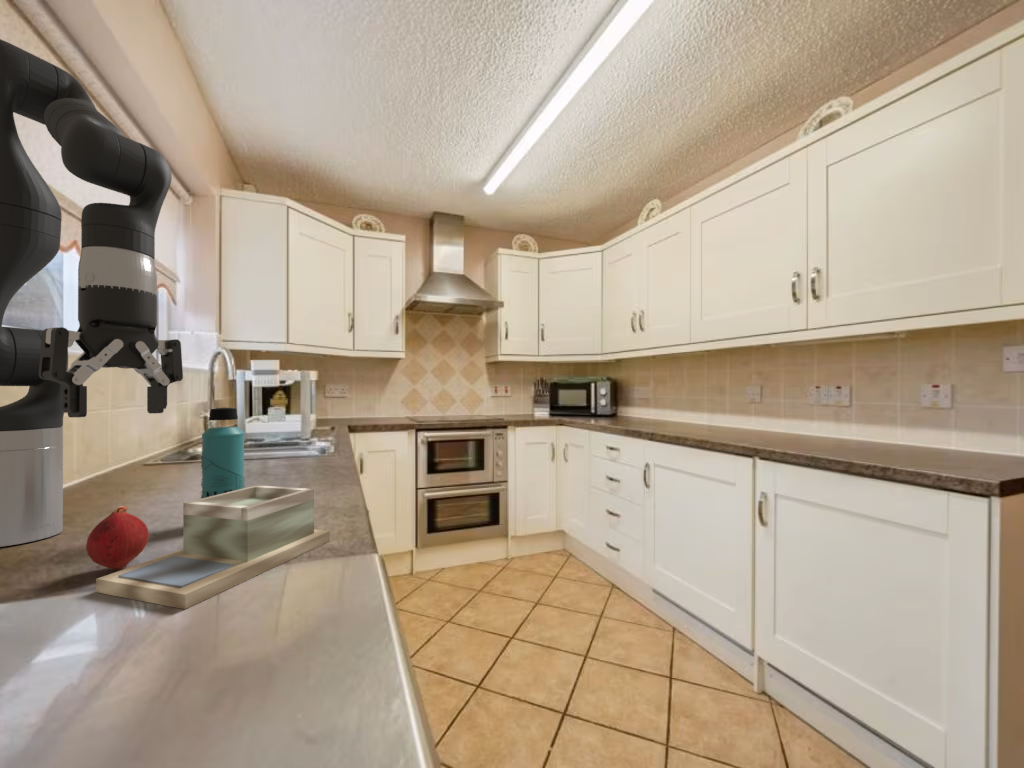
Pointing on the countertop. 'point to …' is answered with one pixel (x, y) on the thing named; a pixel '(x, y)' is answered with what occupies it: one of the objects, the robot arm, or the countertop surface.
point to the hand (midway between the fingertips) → (119, 415)
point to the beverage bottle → (222, 456)
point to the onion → (117, 539)
